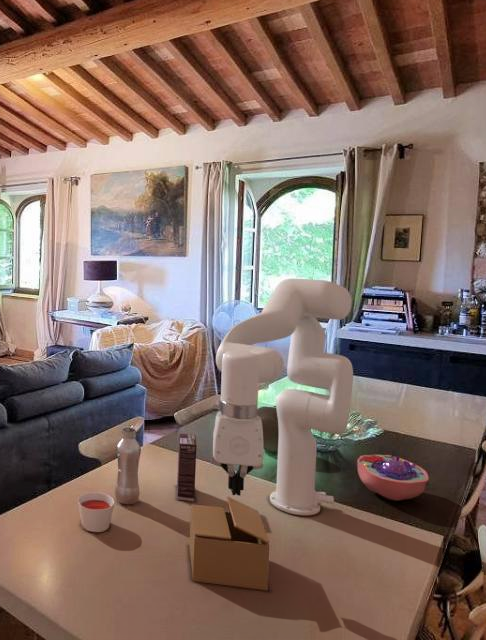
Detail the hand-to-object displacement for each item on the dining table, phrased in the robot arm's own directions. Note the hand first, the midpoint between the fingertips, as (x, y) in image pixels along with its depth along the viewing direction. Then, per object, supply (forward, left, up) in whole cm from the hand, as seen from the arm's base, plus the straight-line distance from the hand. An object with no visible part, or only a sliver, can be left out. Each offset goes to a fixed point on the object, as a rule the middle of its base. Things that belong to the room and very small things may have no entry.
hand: (235, 492), depth 113 cm
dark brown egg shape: (-22, -72, -17) cm, 77 cm away
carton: (+1, 0, -17) cm, 17 cm away
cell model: (-49, -45, -17) cm, 69 cm away
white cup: (+31, -11, -17) cm, 37 cm away
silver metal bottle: (+24, -25, -17) cm, 39 cm away
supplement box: (+8, -33, -17) cm, 38 cm away
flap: (-3, 0, -6) cm, 6 cm away
